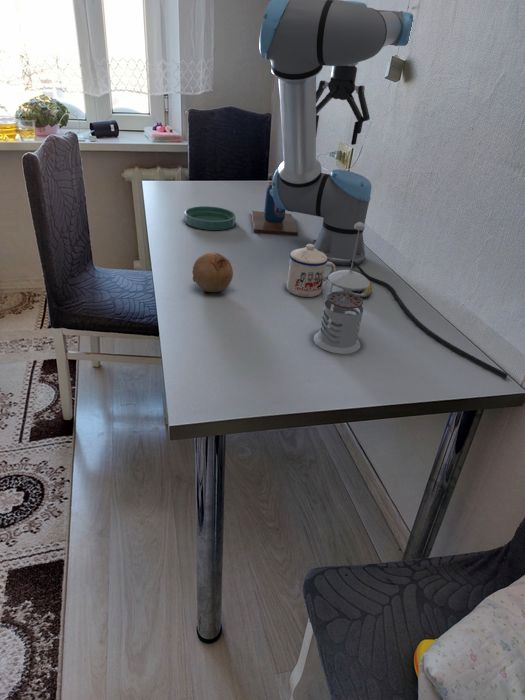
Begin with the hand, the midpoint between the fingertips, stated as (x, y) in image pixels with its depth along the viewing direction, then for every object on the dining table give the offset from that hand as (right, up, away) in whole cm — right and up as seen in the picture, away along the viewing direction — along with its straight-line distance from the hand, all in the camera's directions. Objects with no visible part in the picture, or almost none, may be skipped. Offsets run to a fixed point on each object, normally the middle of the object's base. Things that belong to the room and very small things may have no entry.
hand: (333, 140), depth 160 cm
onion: (-35, -53, -41) cm, 75 cm away
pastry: (+1, -51, -35) cm, 62 cm away
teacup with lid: (-11, -52, -36) cm, 64 cm away
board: (-19, -25, +7) cm, 32 cm away
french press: (-8, -65, -56) cm, 86 cm away
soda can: (-19, -24, +7) cm, 31 cm away
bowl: (-40, -26, +2) cm, 47 cm away
